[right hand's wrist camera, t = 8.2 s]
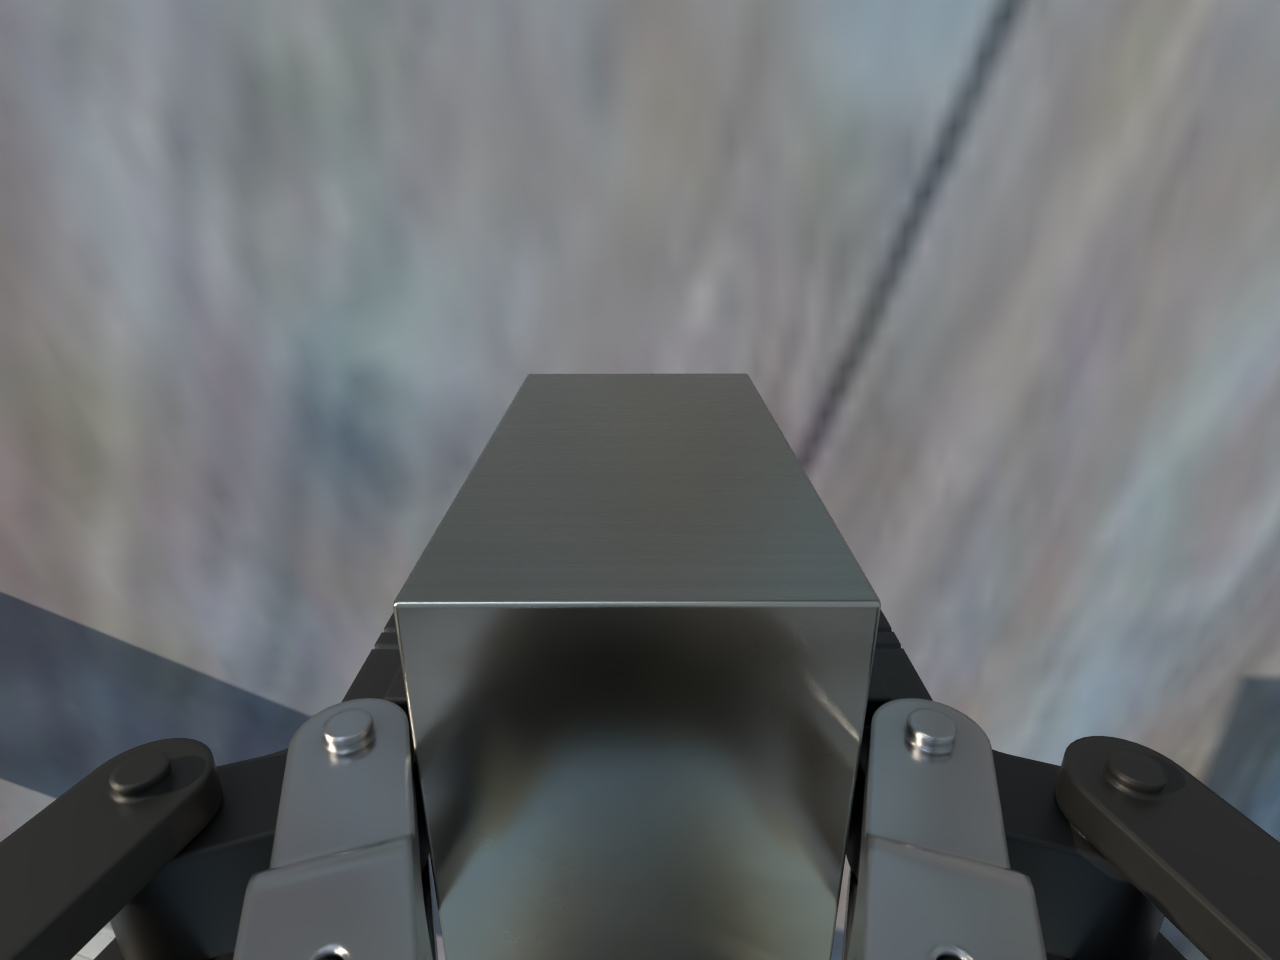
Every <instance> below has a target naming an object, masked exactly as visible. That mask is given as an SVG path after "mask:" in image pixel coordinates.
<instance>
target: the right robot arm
mask: <svg viewBox="0 0 1280 960" xmlns="http://www.w3.org/2000/svg"><path fill="white" fill-rule="evenodd" d="M429 853H430V851H429V844H428V838H427V831H426V824H425V818H424V811H423V804H422V797H421V791H420V784H419V777H418V771H417V764H416V757H415V751H414V744H413V737H412V730H411V724H410V717H409V710H408V704H407V697H406V690H405V683H404V677H403V670H402V663H401V657H400V650H399V643H398V636H397V630H396V623H395V616H394V612H393V614H392V616H391V618H390V619H389V621H388V623H387V625H386V626H385V628H384V633H381V635H380V637H379V638H378V640H377V642H376V644H375V649H372V651H371V652H370V654H369V656H368V657H367V659H366V661H365V663H364V664H363V666H362V668H361V670H360V671H359V673H358V675H357V676H356V678H355V680H354V682H353V683H352V685H351V687H350V689H349V690H348V692H347V694H346V696H345V697H344V699H343V701H342V702H341V703H338V704H336V705H333V706H330V707H328V708H326V709H324V710H322V711H320V712H318V713H317V714H315V715H313V716H312V717H311V718H309V719H308V720H307V721H305V722H304V723H303V724H302V725H301V726H300V727H299V728H298V730H297V731H296V732H295V733H294V735H293V737H292V739H291V741H290V744H289V747H288V749H285V750H282V751H280V752H277V753H273V754H270V755H266V756H262V757H258V758H253V759H249V760H244V761H240V762H236V763H231V764H227V765H222V766H218V767H216V765H215V762H214V758H213V755H212V752H211V750H210V749H209V748H208V747H207V745H205V744H203V743H202V742H199V741H196V740H193V739H186V738H172V739H164V740H159V741H154V742H150V743H147V744H144V745H140V746H138V747H135V748H133V749H130V750H128V751H126V752H124V753H121V754H119V755H117V756H116V757H114V758H112V759H110V760H109V761H107V762H105V763H104V764H103V765H101V766H100V767H98V768H97V769H95V770H94V771H93V772H91V773H90V774H89V775H88V776H86V777H85V778H84V779H82V780H81V781H80V782H78V783H77V784H76V785H75V786H73V787H72V788H71V789H69V790H68V791H67V792H65V793H64V794H63V795H62V796H60V797H59V798H58V799H56V800H55V801H54V802H52V803H51V804H50V805H49V806H47V807H46V808H45V809H43V810H42V811H41V812H39V813H38V814H37V815H36V816H34V817H33V818H32V819H30V820H29V821H28V822H26V823H25V824H24V825H22V826H21V827H20V828H19V829H17V830H16V831H15V832H13V833H12V834H11V835H9V836H8V837H7V838H6V839H4V840H3V841H2V842H0V960H71V959H72V958H73V957H74V956H75V955H76V954H77V953H78V952H79V951H80V950H81V949H82V948H83V947H84V946H85V945H86V944H87V943H88V942H89V941H90V940H91V939H92V938H93V937H94V936H95V935H96V934H97V933H98V932H99V931H100V930H101V929H102V928H103V927H104V926H106V925H107V924H108V923H109V922H110V924H111V926H112V929H113V932H114V934H115V938H114V939H113V940H112V941H111V942H110V943H109V944H108V945H107V946H106V947H105V948H104V949H103V950H102V951H101V952H100V953H99V954H98V955H97V956H96V957H95V958H94V959H93V960H438V951H437V938H436V926H435V913H434V901H433V889H432V879H431V872H430V865H429V858H428V856H429ZM846 856H847V859H848V862H849V865H850V871H849V878H848V888H847V900H846V913H845V925H844V938H843V950H842V960H1187V959H1186V958H1185V957H1184V956H1183V955H1182V954H1181V953H1180V952H1179V951H1178V950H1177V949H1176V948H1175V947H1174V946H1173V945H1172V944H1171V943H1170V942H1169V941H1168V940H1167V939H1166V938H1165V937H1164V936H1163V935H1162V934H1161V933H1160V932H1159V930H1160V927H1161V924H1162V922H1163V919H1164V917H1166V918H1167V919H1168V920H1169V921H1170V922H1171V923H1172V924H1173V925H1174V926H1175V927H1177V928H1178V929H1179V930H1180V931H1181V932H1182V933H1183V934H1184V935H1185V936H1186V937H1187V938H1188V939H1189V940H1190V941H1191V942H1192V943H1193V944H1194V945H1195V946H1196V947H1197V948H1198V949H1199V950H1200V951H1201V952H1202V953H1203V954H1204V955H1205V956H1206V957H1207V958H1208V959H1209V960H1280V842H1278V841H1277V840H1276V839H1274V838H1273V837H1272V836H1271V835H1269V834H1268V833H1267V832H1265V831H1264V830H1263V829H1261V828H1260V827H1259V826H1257V825H1256V824H1255V823H1254V822H1252V821H1251V820H1250V819H1248V818H1247V817H1246V816H1244V815H1243V814H1242V813H1241V812H1239V811H1238V810H1237V809H1235V808H1234V807H1233V806H1231V805H1230V804H1229V803H1228V802H1226V801H1225V800H1224V799H1222V798H1221V797H1220V796H1218V795H1217V794H1216V793H1215V792H1213V791H1212V790H1211V789H1209V788H1208V787H1207V786H1205V785H1204V784H1203V783H1202V782H1200V781H1199V780H1198V779H1196V778H1195V777H1194V776H1192V775H1191V774H1190V773H1188V772H1187V771H1186V770H1185V769H1183V768H1182V767H1181V766H1179V765H1178V764H1176V763H1175V762H1173V761H1172V760H1171V759H1169V758H1167V757H1165V756H1164V755H1162V754H1160V753H1158V752H1156V751H1154V750H1152V749H1150V748H1148V747H1145V746H1143V745H1140V744H1137V743H1134V742H1131V741H1128V740H1124V739H1119V738H1114V737H1106V736H1090V737H1084V738H1081V739H1078V740H1076V741H1074V742H1072V743H1071V744H1070V745H1069V746H1068V747H1067V749H1066V751H1065V754H1064V758H1063V761H1062V765H1061V766H1057V765H1053V764H1049V763H1044V762H1040V761H1035V760H1031V759H1026V758H1022V757H1017V756H1013V755H1009V754H1005V753H1002V752H998V751H995V750H993V749H992V747H991V744H990V741H989V739H988V737H987V735H986V733H985V732H984V731H983V730H982V728H981V727H980V726H979V725H978V724H977V723H976V722H975V721H973V720H972V719H971V718H969V717H968V716H967V715H965V714H963V713H962V712H960V711H958V710H956V709H954V708H952V707H950V706H947V705H944V704H942V703H939V702H935V701H933V700H932V698H931V697H930V695H929V693H928V691H927V690H926V688H925V686H924V684H923V683H922V681H921V679H920V677H919V676H918V674H917V672H916V670H915V669H914V667H913V665H912V663H911V662H910V660H909V658H908V656H907V655H906V653H905V651H904V649H901V644H900V642H899V640H898V639H897V637H896V635H895V633H894V632H892V631H891V626H890V625H889V623H888V621H887V619H886V618H885V616H884V614H883V612H882V611H881V609H880V616H879V623H878V630H877V637H876V644H875V651H874V658H873V665H872V672H871V679H870V686H869V693H868V700H867V707H866V714H865V721H864V729H863V736H862V743H861V750H860V757H859V764H858V771H857V778H856V785H855V792H854V799H853V806H852V813H851V820H850V827H849V834H848V841H847V848H846Z"/></svg>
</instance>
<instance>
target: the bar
mask: <svg viewBox="0 0 1280 960" xmlns="http://www.w3.org/2000/svg"><path fill="white" fill-rule="evenodd" d="M880 609H881V603H880V600H879V598H878V596H877V595H876V593H875V591H874V590H873V588H872V586H871V584H870V583H869V581H868V579H867V578H866V576H865V574H864V573H863V571H862V569H861V567H860V566H859V564H858V562H857V561H856V559H855V557H854V555H853V554H852V552H851V550H850V549H849V547H848V545H847V543H846V542H845V540H844V538H843V537H842V535H841V533H840V531H839V530H838V528H837V526H836V525H835V523H834V521H833V519H832V518H831V516H830V514H829V513H828V511H827V509H826V507H825V506H824V504H823V502H822V501H821V499H820V497H819V495H818V494H817V492H816V490H815V489H814V487H813V485H812V483H811V482H810V480H809V478H808V477H807V475H806V473H805V471H804V470H803V468H802V466H801V465H800V463H799V461H798V459H797V458H796V456H795V454H794V453H793V451H792V449H791V447H790V446H789V444H788V442H787V441H786V439H785V437H784V435H783V434H782V432H781V430H780V429H779V427H778V425H777V423H776V422H775V420H774V418H773V417H772V415H771V413H770V411H769V410H768V408H767V406H766V405H765V403H764V401H763V399H762V398H761V396H760V394H759V393H758V391H757V389H756V387H755V386H754V384H753V382H752V381H751V379H750V377H749V375H748V374H529V375H528V376H527V377H526V379H525V381H524V382H523V384H522V386H521V387H520V389H519V391H518V392H517V394H516V396H515V398H514V399H513V401H512V403H511V404H510V406H509V408H508V409H507V411H506V413H505V415H504V416H503V418H502V420H501V421H500V423H499V425H498V426H497V428H496V430H495V431H494V433H493V435H492V437H491V438H490V440H489V442H488V443H487V445H486V447H485V448H484V450H483V452H482V454H481V455H480V457H479V459H478V460H477V462H476V464H475V465H474V467H473V469H472V470H471V472H470V474H469V476H468V477H467V479H466V481H465V482H464V484H463V486H462V487H461V489H460V491H459V492H458V494H457V496H456V498H455V499H454V501H453V503H452V504H451V506H450V508H449V509H448V511H447V513H446V515H445V516H444V518H443V520H442V521H441V523H440V525H439V526H438V528H437V530H436V531H435V533H434V535H433V537H432V538H431V540H430V542H429V543H428V545H427V547H426V548H425V550H424V552H423V553H422V555H421V557H420V559H419V560H418V562H417V564H416V565H415V567H414V569H413V570H412V572H411V574H410V576H409V577H408V579H407V581H406V582H405V584H404V586H403V587H402V589H401V591H400V592H399V594H398V596H397V598H396V599H395V601H394V604H393V610H394V616H395V623H396V630H397V636H398V643H399V650H400V657H401V663H402V670H403V677H404V683H405V690H406V697H407V704H408V710H409V717H410V724H411V730H412V737H413V744H414V751H415V757H416V764H417V771H418V777H419V784H420V791H421V797H422V804H423V811H424V818H425V824H426V831H427V838H428V844H429V851H430V858H431V865H432V871H433V878H434V885H435V891H436V898H437V905H438V912H439V918H440V925H441V932H442V938H443V945H444V952H445V958H446V960H831V954H832V947H833V940H834V933H835V926H836V919H837V912H838V905H839V898H840V891H841V884H842V877H843V870H844V863H845V855H846V848H847V841H848V834H849V827H850V820H851V813H852V806H853V799H854V792H855V785H856V778H857V771H858V764H859V757H860V750H861V743H862V736H863V729H864V721H865V714H866V707H867V700H868V693H869V686H870V679H871V672H872V665H873V658H874V651H875V644H876V637H877V630H878V623H879V616H880Z"/></svg>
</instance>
